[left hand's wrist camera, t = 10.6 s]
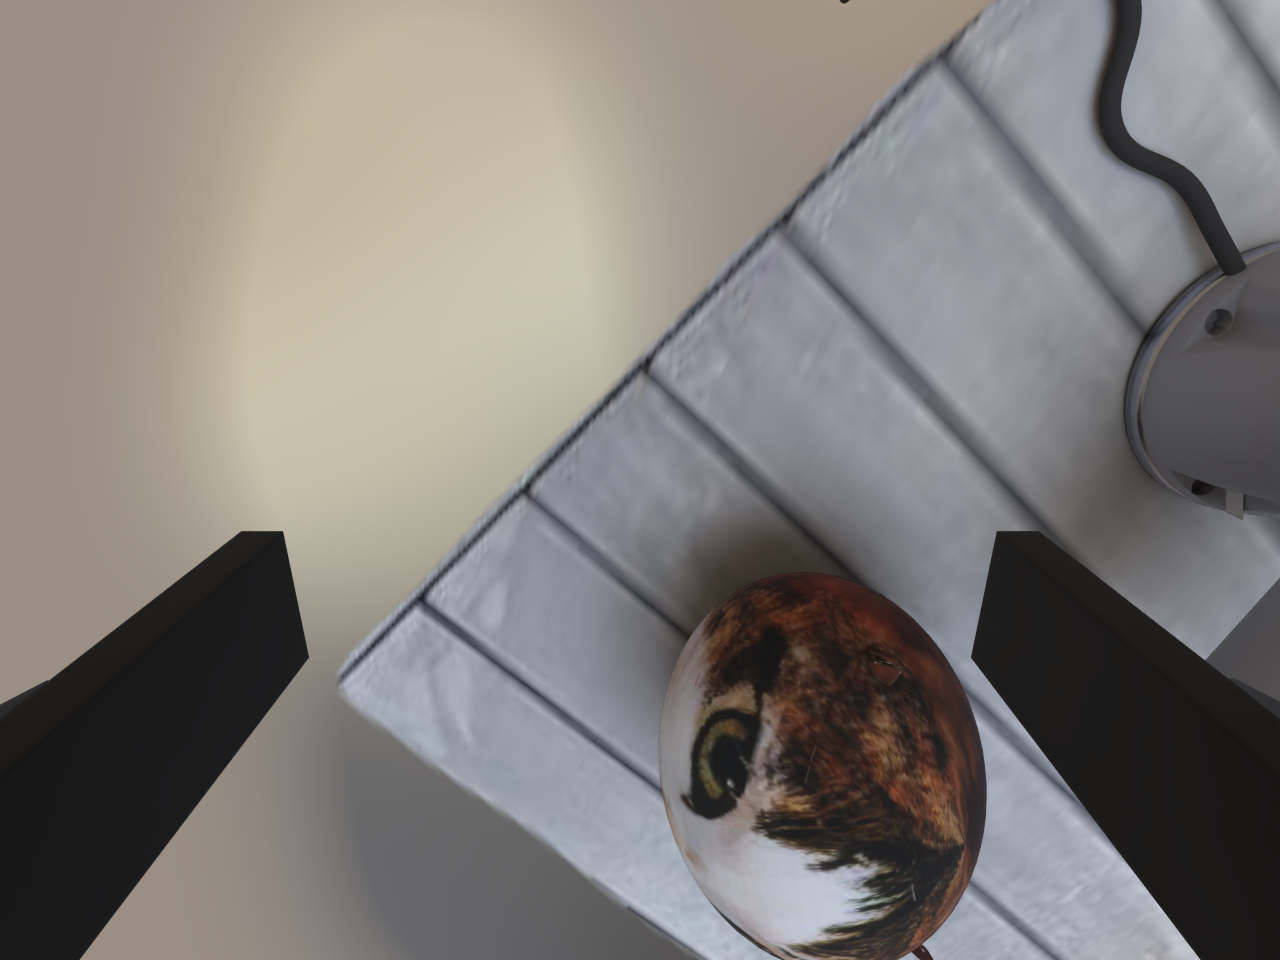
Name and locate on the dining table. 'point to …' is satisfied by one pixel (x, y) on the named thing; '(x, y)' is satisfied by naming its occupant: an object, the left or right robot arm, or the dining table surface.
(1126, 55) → the left robot arm
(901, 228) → the dining table surface
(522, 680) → the dining table surface
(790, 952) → the cat face balloon
